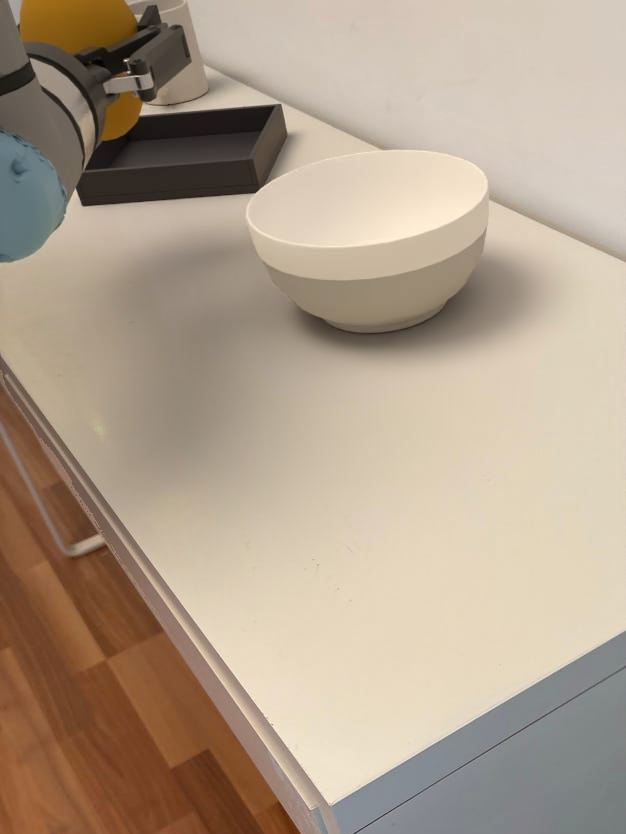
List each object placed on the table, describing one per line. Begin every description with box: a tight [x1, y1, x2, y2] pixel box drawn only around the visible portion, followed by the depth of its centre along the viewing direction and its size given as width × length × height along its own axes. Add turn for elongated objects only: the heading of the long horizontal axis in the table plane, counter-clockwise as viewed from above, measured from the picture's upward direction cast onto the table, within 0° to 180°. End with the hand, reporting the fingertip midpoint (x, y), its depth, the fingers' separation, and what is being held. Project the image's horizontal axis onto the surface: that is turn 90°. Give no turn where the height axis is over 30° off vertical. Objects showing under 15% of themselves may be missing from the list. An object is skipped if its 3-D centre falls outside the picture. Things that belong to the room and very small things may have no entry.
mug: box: [127, 0, 210, 106], centre depth 124 cm, size 11×10×10 cm
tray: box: [75, 103, 288, 207], centre depth 106 cm, size 19×17×3 cm
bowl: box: [245, 149, 490, 334], centre depth 78 cm, size 19×19×9 cm
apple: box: [19, 0, 144, 141], centre depth 78 cm, size 10×10×12 cm
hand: (94, 31), depth 81 cm, fingers closed on apple, 10 cm apart
